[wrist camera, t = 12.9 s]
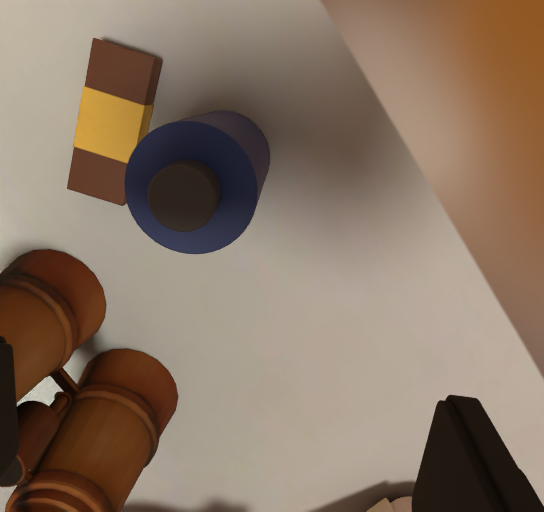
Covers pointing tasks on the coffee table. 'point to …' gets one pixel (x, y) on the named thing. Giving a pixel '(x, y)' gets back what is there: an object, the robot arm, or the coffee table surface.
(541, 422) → the coffee table surface
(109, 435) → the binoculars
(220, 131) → the water bottle
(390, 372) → the coffee table surface
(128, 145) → the chocolate bar
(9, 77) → the coffee table surface
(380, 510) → the ice cream cone
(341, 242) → the coffee table surface
